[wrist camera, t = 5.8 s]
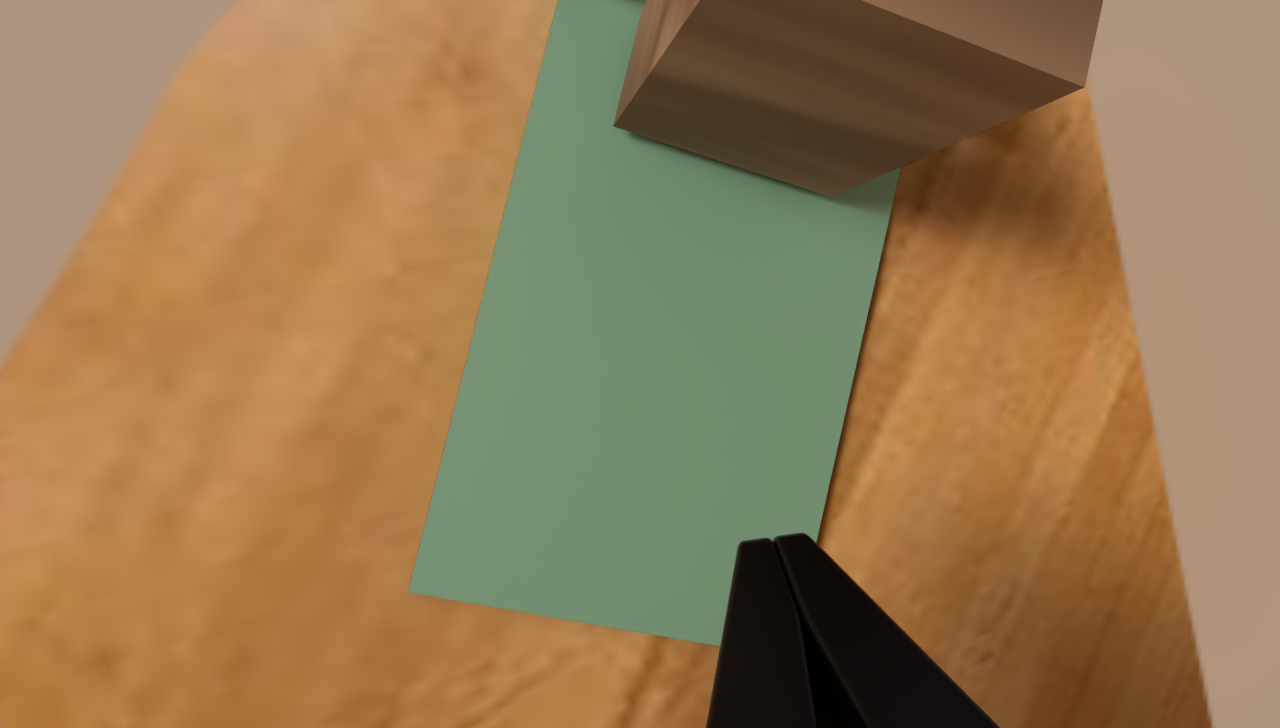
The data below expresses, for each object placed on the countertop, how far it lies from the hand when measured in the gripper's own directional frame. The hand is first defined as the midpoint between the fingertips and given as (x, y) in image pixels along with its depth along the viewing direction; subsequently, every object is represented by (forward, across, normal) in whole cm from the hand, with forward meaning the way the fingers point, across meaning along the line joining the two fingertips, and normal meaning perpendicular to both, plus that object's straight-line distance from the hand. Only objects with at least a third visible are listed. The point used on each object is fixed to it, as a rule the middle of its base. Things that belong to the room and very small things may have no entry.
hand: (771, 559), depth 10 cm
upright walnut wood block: (+13, -2, -2) cm, 14 cm away
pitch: (+12, -1, +2) cm, 12 cm away
